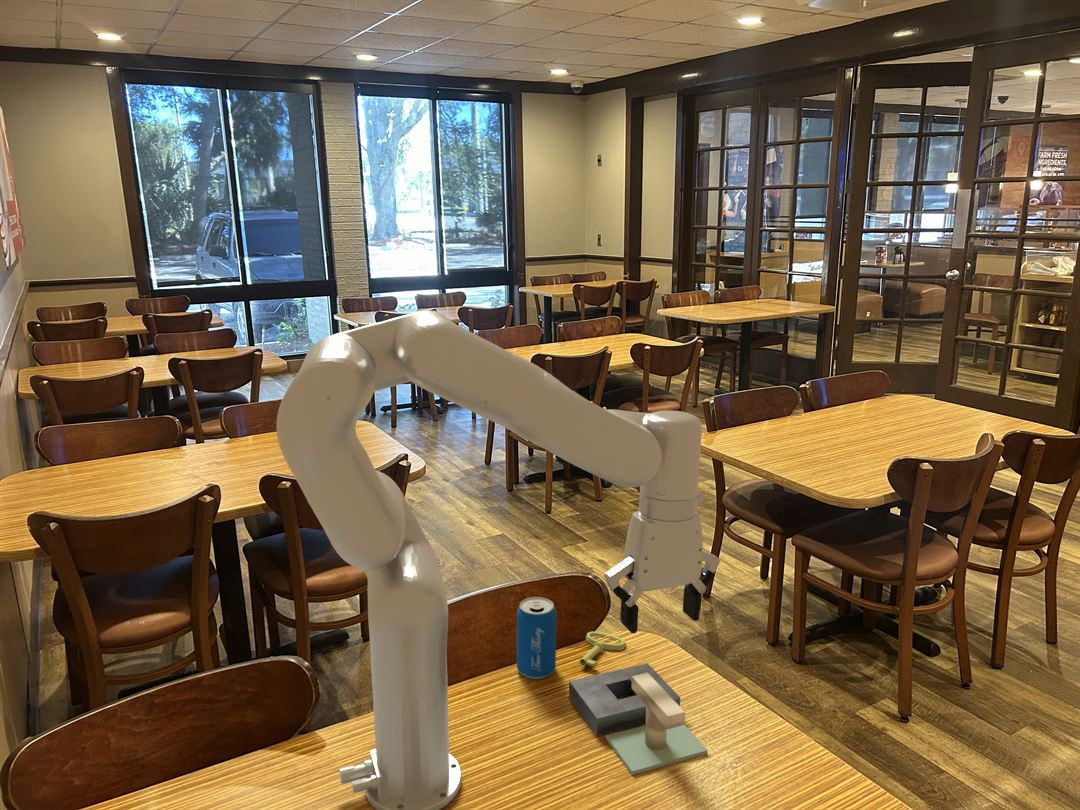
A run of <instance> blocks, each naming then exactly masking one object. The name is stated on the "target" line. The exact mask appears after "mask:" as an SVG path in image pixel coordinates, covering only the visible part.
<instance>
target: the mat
mask: <svg viewBox="0 0 1080 810" xmlns="http://www.w3.org/2000/svg"><path fill="white" fill-rule="evenodd" d="M645 728H646V724H643V725H640V726H636V727H632V728H628V729H624V730H620V731H617V732H613V733H609V734H605V741H606V742H607V743H608V744H609V745H610V747H611V748H612V749H613V751H614V752H615V754H616V756H618V758H619V759H620V761H621V762H622V763H623V765H624V767H626V769H627V770H628V771H629V773H630V774H631V776H634V775H637V774H638V775H639V774H642V773H645V772H648V771H652V770H656V769H659V768H662V767H666V766H670V765H672V764H676V763H679V762H684V761H686V760H690V759H694V758H697V757H700V756H701V757H702V756H704V755H708V749H707V747H705V745H704V744H703V743H702V742H701V740H699V739H698V738H697V737H696V736H695V734H693V732H692V731H691V730H690V728H688V727H687V726H686V724H684V725H682V726H678V727H675V728H671V729H667V737H666V746H665V747H664V748H663V749H660V750H654V749H651V748H649V747H648V746H647V745H646V744H645Z"/></svg>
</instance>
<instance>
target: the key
mask: <svg viewBox="0 0 1080 810" xmlns="http://www.w3.org/2000/svg"><path fill="white" fill-rule="evenodd" d="M607 635H610V636H607ZM604 636H607V637H604ZM595 637H599V638H601V637H602V638H606V639H610V640H613V639H614V640H613V641H615V640H618V641H619V642H621V643H619V642H618V643H608V642H604V641H602V640H601V641H600V640H598V639H595ZM609 637H610V638H609ZM585 640H586V642H587V643H588V644H589V645H591V646H592V648H591V649H590V651H588V652H587V653H586V654H585V655H583V656H582V658H580V659H579V663H580V665H581V666H583V667H584V666H586V665H588V666H591V667H595V666H596V665H598V662H597V661H595V660H593V659H594V657H596V656H597V654H599V653H603V652H604V650H607V651H612V650H617V651H620V650H619V649H621V650H623V649H624V648H625V647H626V646H625V644H626V640H625V639H623V638H622V637H619V636H617V635H614V634H611V633H607V632H601V631H589V632H587V633H586V636H585ZM622 648H623V649H622Z"/></svg>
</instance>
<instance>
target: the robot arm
mask: <svg viewBox="0 0 1080 810" xmlns="http://www.w3.org/2000/svg"><path fill="white" fill-rule="evenodd" d="M409 382H412V383H413V384H414V385H416V386H417V387H419V388H421V389H424V390H425V391H427V392H428V393H432V394H434V395H435V396H437V397H440V398H442V399H444V400H446V401H448V402H450V403H453V404H454V405H456V406H459V407H461V408H463V409H466V410H467V411H470V412H472V413H474V414H476V415H478V416H481V417H482V418H484V419H485V420H486V419H487V420H488V421H490V422H493V423H495V424H497V425H499V426H501V427H502V428H504V429H506V430H509V431H510V432H512V433H513V434H515V435H516V436H518V437H520V438H522V439H524V440H526V441H528V442H530V443H532V444H534V445H536V446H538V447H540V448H542V449H544V450H546V451H548V452H549V453H551V454H553V455H555V456H557V457H558V458H560V459H562V460H563V461H566V462H567V463H569V464H572V465H573V466H575V467H577V468H579V469H582V470H583V471H586V472H588V473H590V474H592V475H594V476H597V477H598V478H601V480H602V479H603V480H605V481H607V482H609V483H611V484H614V485H616V486H619V487H622V488H623V487H625V488H636V487H639V496H638V497H639V500H638V511H633V512H632V516H631V518H630V519H631V520H630V523H629V525H628V530H627V535H626V539H625V545H624V546H625V547H624V554H623V561H621V562H620V563H618V564H617V565H615V566H614V567H612V568H611V569H610V570H608V571H606V572H605V574H604V579H605V581H606V583H607V585H608V587H609V590H610V591H611V592H612V593H613V594H614V595H615V596H616V597H617V598H618V599H620V617H619V619H620V622H621V624H622V625H623V626H624V627H625V628H626V629H627V630H628V631H629V632H630V633H631V634H636V633H637V632H638V623H639V605H637V601H638V600H639V598H641V596H642V595H643V594H644V592H652V591H656V590H657V591H658V590H661V589H663V590H664V589H669V588H675V587H679V586H684V589H683V598H682V599H683V602H682V603H683V604H682V612H683V613H684V614H685V615H686V616H687V617H689V618H690V619H691V620H692V621H693V622H694V621H695V622H697V621H699V620H700V614H701V613H700V612H701V607H702V594H705V592H706V590H707V586H708V584H709V583H711V582H712V580H713V579H714V577H715V574H714V573H716V571H717V569H718V568H719V565H720V563H721V559H720V558H719V557H717V556H716V555H715V554H712V553H711V552H708V551H706V550H703V549H704V548H703V532H702V523H701V516H700V514H699V512H698V511H697V510H698V504H699V503H702V502H704V500H705V496H704V494H703V491H699V478H700V477H699V475H700V460H701V449H702V448H701V447H702V435H703V433H702V431H703V429H702V428H703V427H702V422H701V420H700V419H699V418H698V417H697V416H696V415H694V414H691V413H690V412H685V411H679V410H658V411H653V412H641V411H639V412H638V411H629V410H621V409H611V408H610V409H605V408H603V407H601V406H599V405H597V404H595V403H594V402H592V401H590V400H588V399H587V398H585V397H584V396H582V395H580V394H579V393H578V392H575V391H574V390H572V389H571V388H569V387H568V386H567V385H565V384H564V383H563V382H561V381H560V379H558V378H556V377H555V376H554V375H552V374H551V373H549V372H548V371H546V370H545V369H543V368H541V367H540V366H539V365H536V364H535V363H534V362H531V361H529V360H527V359H524V358H523V357H521V356H519V355H517V354H515V353H512V352H510V351H508V350H507V349H504V348H502V347H501V346H499V345H496V344H495V343H493V342H491V341H489V340H487V339H485V338H483V337H481V336H479V335H477V334H475V333H474V332H472V331H470V330H467V329H466V328H464V327H462V326H460V325H459V324H457V323H454V322H453V321H452V320H451V319H450V318H449V317H447V316H446V315H445V314H442V313H440V312H438V311H435V310H434V311H433V310H420V311H415V312H411V313H408V314H404V315H401V316H398V317H393V318H389V319H387V320H383V321H380V322H375V323H371V324H369V325H368V324H367V325H364V326H361V327H357V328H353V329H348V330H346V331H341V332H338V333H335V334H332V335H331V334H330V335H328V336H326V337H324V338H322V339H320V340H318V341H317V342H315V343H314V345H312V347H310V349H309V350H308V352H306V355H305V357H304V360H303V362H302V365H301V367H300V368H299V370H298V372H297V374H296V375H295V377H294V378H293V379H292V381H291V383H290V385H289V386H288V388H287V389H286V392H285V393H284V394H283V397H282V399H281V402H280V405H279V407H278V412H277V415H276V416H277V417H276V437H277V441H278V445H279V448H280V451H281V454H282V456H283V458H284V460H285V462H286V464H287V466H288V468H289V470H290V472H291V473H292V475H293V477H294V478H295V480H296V482H297V484H298V486H299V487H300V489H301V491H302V492H303V495H304V497H305V498H306V501H307V503H308V504H309V506H310V508H311V509H312V511H313V513H314V515H315V516H316V518H317V520H318V521H319V523H320V525H321V526H322V528H323V530H324V532H325V534H326V536H327V538H328V540H329V541H330V544H331V546H332V547H333V549H334V550H335V552H336V553H337V555H338V556H339V557H340V558H341V560H343V562H346V563H347V564H348V565H351V566H352V567H355V568H357V569H359V570H362V571H363V572H364V574H365V576H366V578H367V615H368V617H367V619H368V632H369V633H368V634H369V648H370V667H371V669H370V671H371V687H372V702H373V706H372V707H373V722H374V723H373V724H374V741H375V742H374V743H375V744H374V746H375V747H374V748H375V749H372V750H370V758H369V759H365V760H363V763H361V764H357V765H351V766H350V765H349V766H345V767H342V768H339V769H338V770H339V771H338V772H339V779H340V785H341V786H342V785H346V784H349V783H351V788H352V793H353V794H357V793H360V792H363V791H365V796H366V798H367V801H368V803H370V805H371V806H372V807H373V808H374V809H375V810H441V809H442V808H444V807H446V806H447V805H448V804H450V803H451V801H453V799H455V797H456V795H458V792H459V791H460V788H461V783H462V770H461V766H460V764H459V762H458V760H457V759H456V758H455V757H454V756H453V755H451V753H450V743H449V742H450V737H449V736H450V735H449V729H450V728H449V699H448V697H449V695H448V694H449V693H448V688H449V687H448V686H449V685H448V662H447V661H448V659H447V658H448V657H447V656H448V653H447V649H448V648H447V647H448V645H447V644H448V642H447V641H448V628H449V605H448V604H449V603H448V597H447V593H446V592H447V591H446V589H445V588H446V587H445V584H444V580H443V576H442V574H441V569H440V566H439V562H438V558H437V557H436V553H435V551H434V549H433V547H432V545H431V544H430V541H429V539H428V538H427V536H426V534H425V532H424V530H423V528H422V526H421V525H420V524H419V521H418V519H417V517H416V516H415V513H414V512H413V510H412V508H411V507H410V504H409V502H408V501H407V499H406V498H405V496H404V495H405V494H404V493H403V492H402V490H401V488H400V487H399V486H398V484H397V483H396V482H395V481H394V480H393V479H392V478H391V477H390V476H389V475H387V474H385V473H383V472H381V471H379V470H376V469H375V467H374V465H373V463H372V461H371V459H370V456H369V454H368V452H367V450H366V449H365V447H364V446H363V445H362V443H361V441H360V440H359V437H358V435H357V432H356V431H357V429H356V425H357V422H358V419H359V417H360V415H361V414H362V413H363V411H364V410H365V409H366V408H367V406H368V404H369V403H370V401H371V399H372V398H373V395H374V393H376V392H378V391H382V390H386V389H389V388H392V387H396V386H399V385H403V384H406V383H409ZM703 563H704V566H703ZM622 578H624V579H627V580H626V581H625V582H624V583H623V585H622V586H621V583H620V580H621V579H622Z"/></svg>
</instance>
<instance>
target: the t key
mask: <svg viewBox="0 0 1080 810" xmlns="http://www.w3.org/2000/svg"><path fill="white" fill-rule="evenodd" d="M632 689H633V691H634V692H635V693H636V694H637V695H638V696H639V697H640V699H641V700H642V701H643V702H644V703H645V704H646V724H645V725H646V728H645V744H646V745H647V746H648V747H649V748H651V749H654V750H660V749H663V748H664V747H665V746H666V737H667V729H671V728H675V727H678V726H682V725H685V716H686V711H684V709H683V708H682V707H681V705H680V706H679V705H678V704H677V703H676V702H675V701H674V700H673V699H672V698H671V697H670V696H669V695H668V694H667V693H666V691H665V690H664V689H663V688H662V687H661V686H660V685H659V684H658V683H657V682H656V681H655V680H654V679H653V678H652V677H651V676H650V674H649V673H648V672H647V673H643V674H639V675H635V676H632Z"/></svg>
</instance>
